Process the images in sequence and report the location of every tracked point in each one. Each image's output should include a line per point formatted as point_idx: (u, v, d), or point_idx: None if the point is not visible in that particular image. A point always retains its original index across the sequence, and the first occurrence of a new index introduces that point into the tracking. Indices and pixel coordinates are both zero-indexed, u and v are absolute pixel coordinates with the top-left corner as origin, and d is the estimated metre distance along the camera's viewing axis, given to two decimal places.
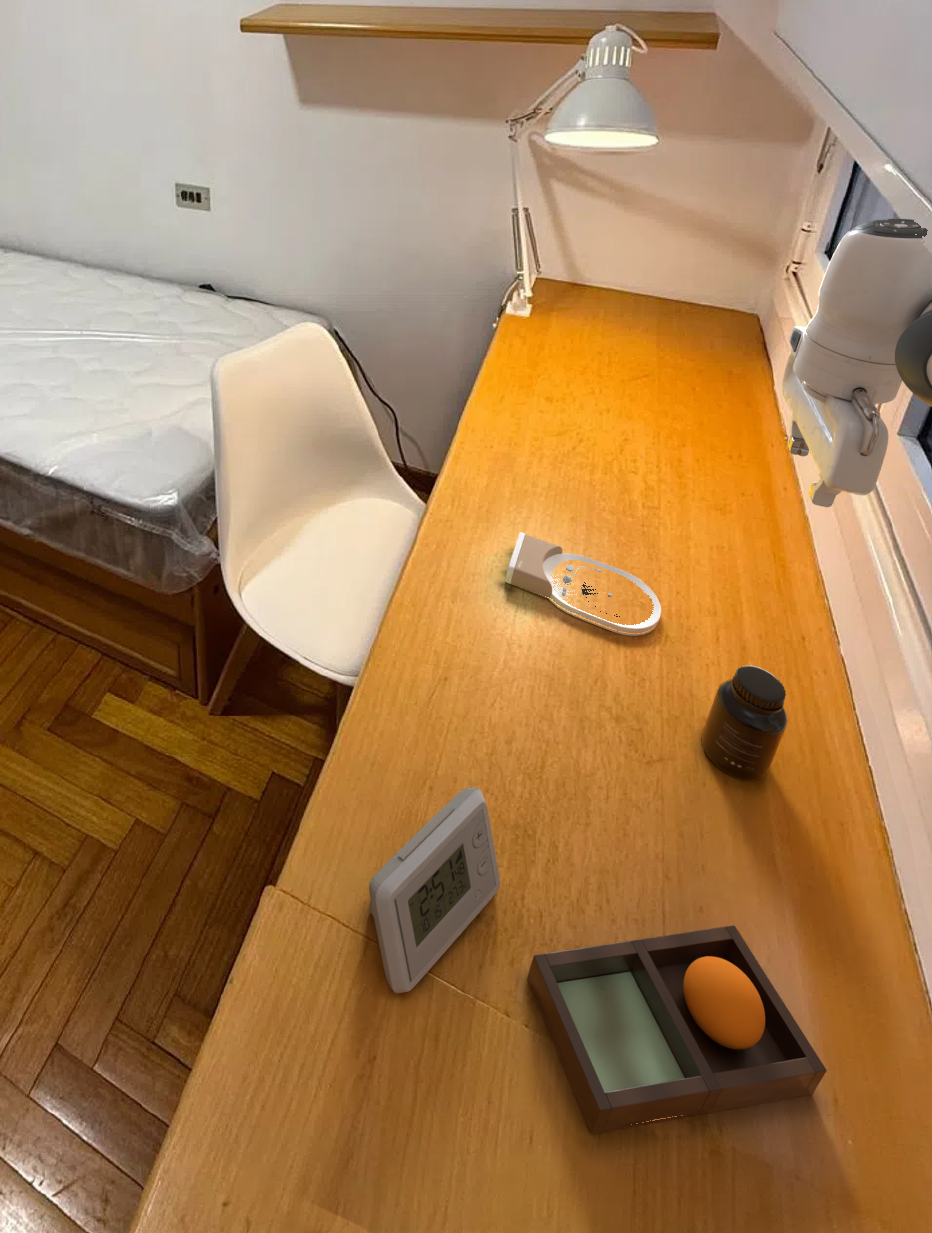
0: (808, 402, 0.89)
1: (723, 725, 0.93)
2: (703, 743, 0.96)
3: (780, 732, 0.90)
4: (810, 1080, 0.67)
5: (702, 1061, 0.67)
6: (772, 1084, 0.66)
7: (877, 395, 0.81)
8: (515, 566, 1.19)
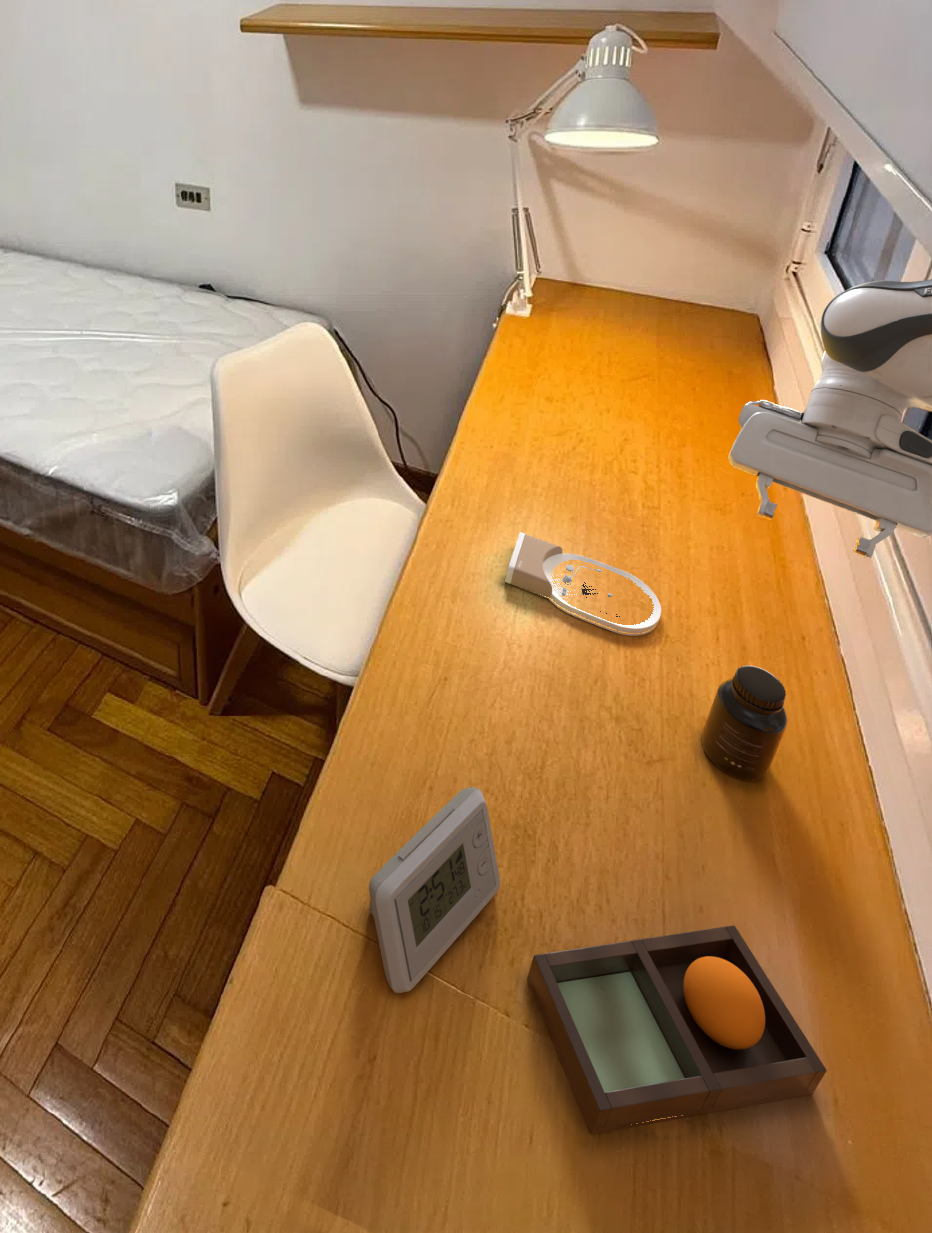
0: None
1: (723, 725, 0.93)
2: (703, 743, 0.96)
3: (780, 732, 0.90)
4: (810, 1080, 0.67)
5: (702, 1061, 0.67)
6: (772, 1084, 0.66)
7: (807, 415, 0.98)
8: (515, 566, 1.19)
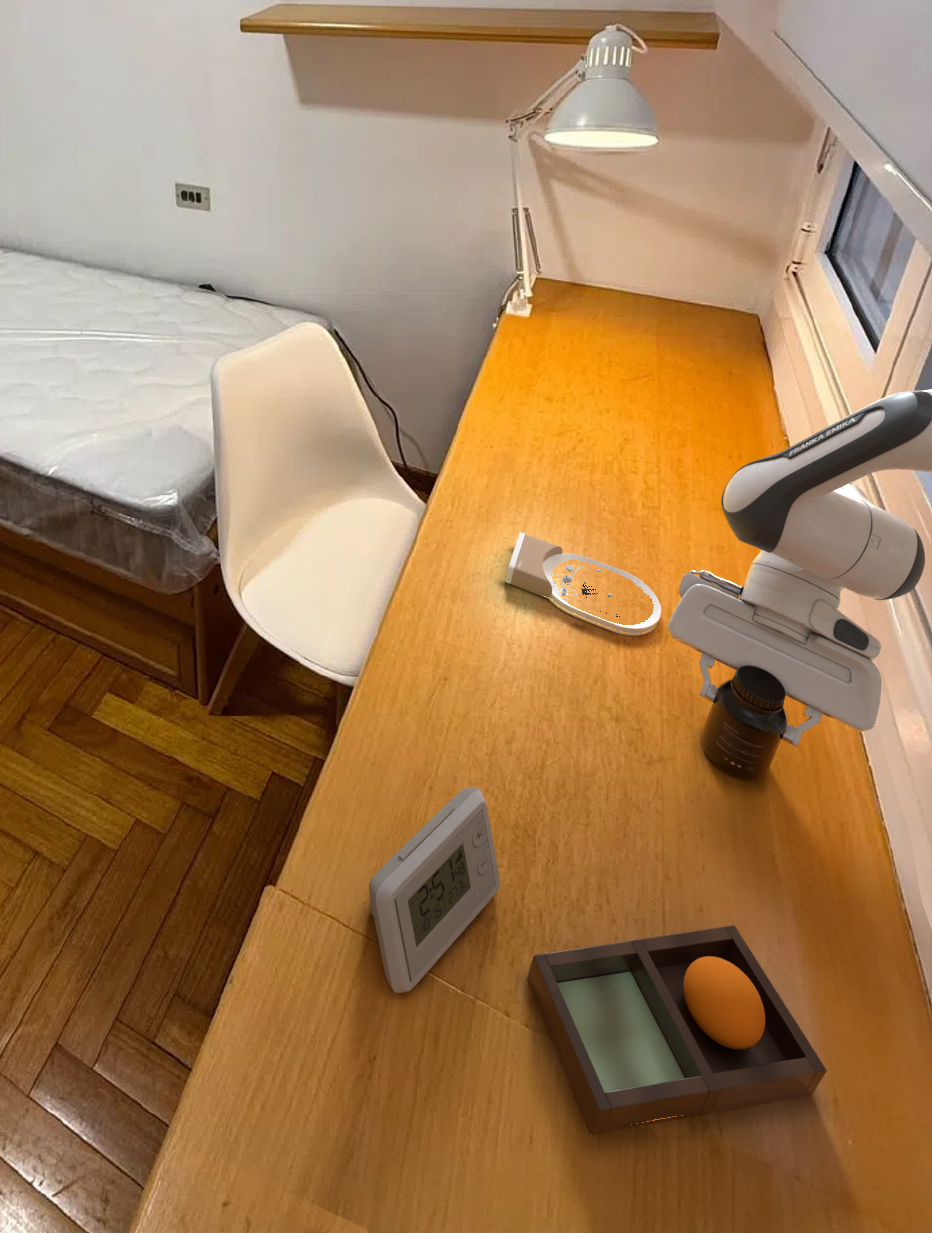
0: None
1: (723, 726, 0.93)
2: (703, 743, 0.96)
3: (780, 732, 0.90)
4: (810, 1080, 0.67)
5: (702, 1061, 0.67)
6: (772, 1084, 0.66)
7: (745, 591, 0.97)
8: (515, 566, 1.19)
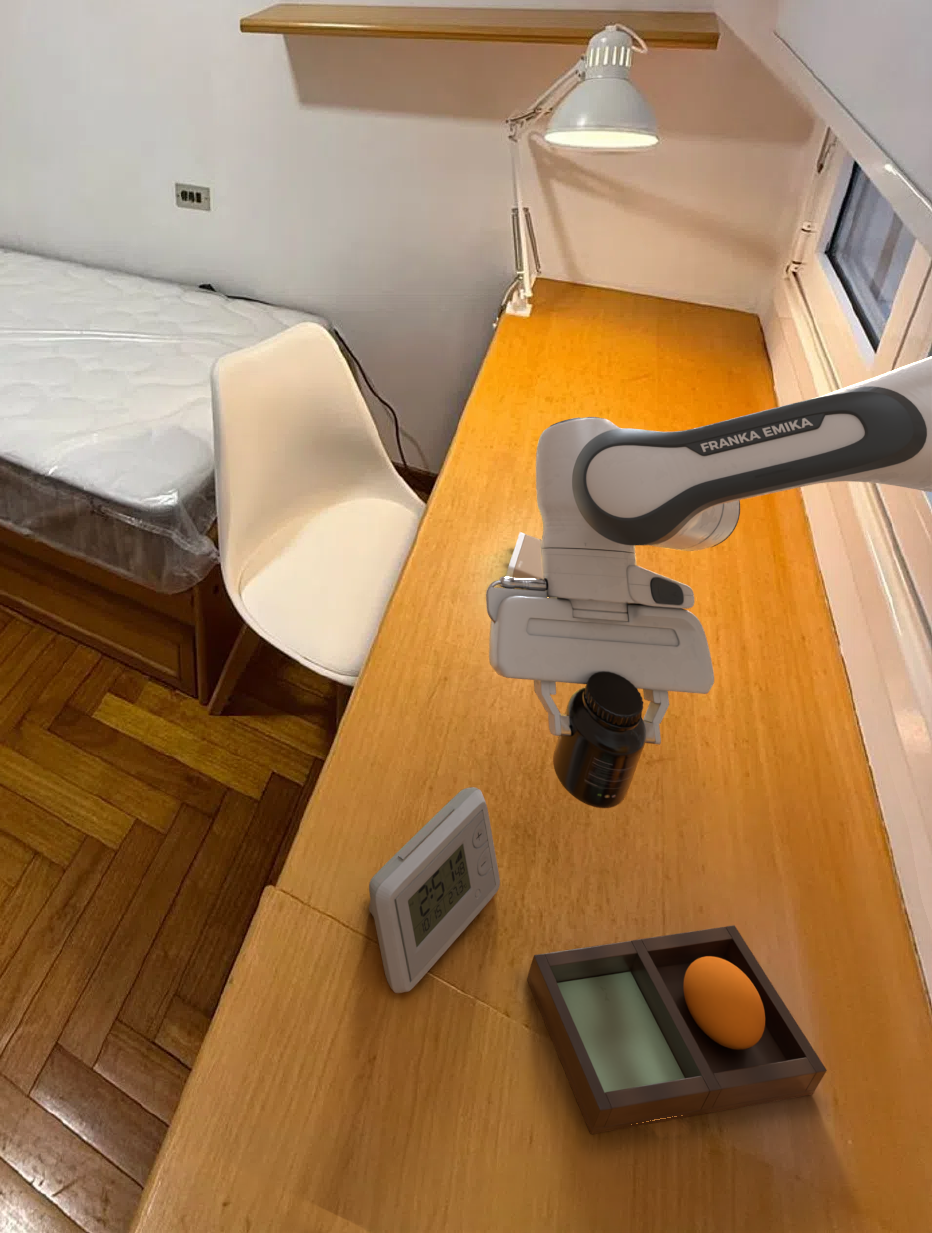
0: None
1: (592, 762, 0.75)
2: (564, 783, 0.79)
3: (645, 739, 0.75)
4: (810, 1080, 0.67)
5: (702, 1061, 0.67)
6: (772, 1084, 0.66)
7: (554, 586, 0.81)
8: (515, 566, 1.19)
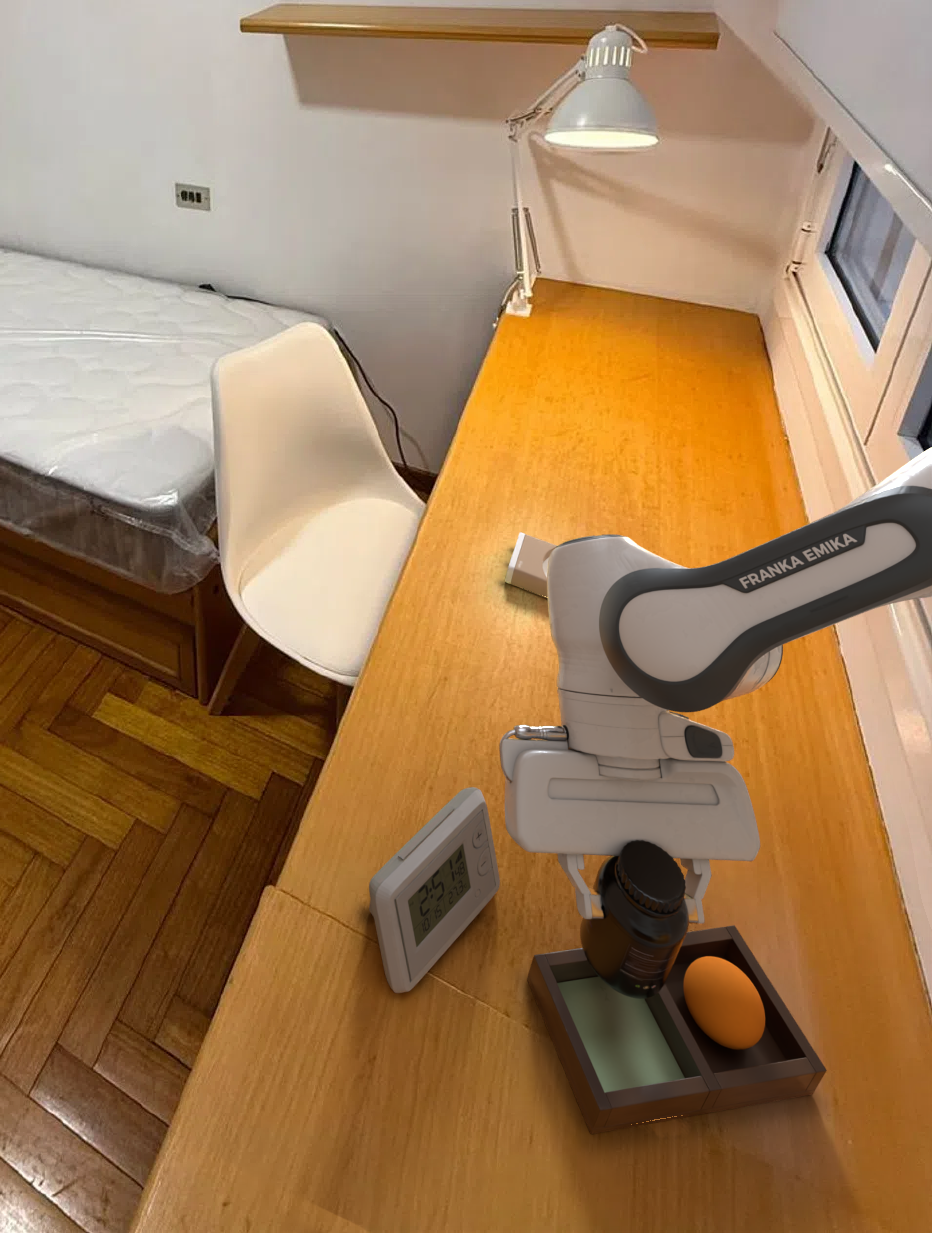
0: None
1: (629, 951, 0.65)
2: (595, 968, 0.69)
3: (688, 921, 0.66)
4: (810, 1080, 0.67)
5: (702, 1061, 0.67)
6: (772, 1084, 0.66)
7: (576, 737, 0.71)
8: (515, 566, 1.19)
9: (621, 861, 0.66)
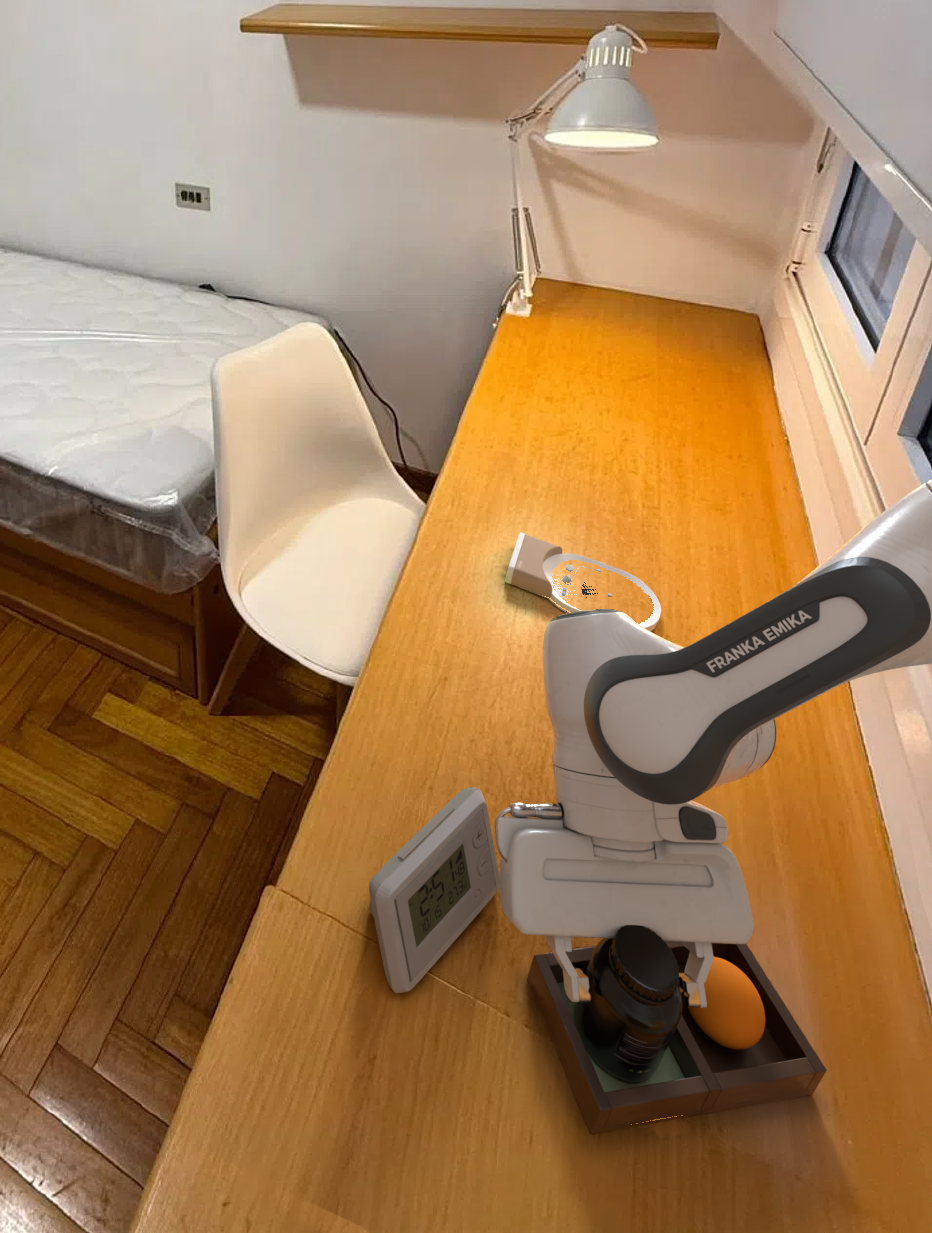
0: None
1: (623, 1037, 0.66)
2: (590, 1050, 0.69)
3: (681, 1007, 0.66)
4: (810, 1080, 0.67)
5: (702, 1061, 0.67)
6: (772, 1084, 0.66)
7: (571, 816, 0.71)
8: (515, 566, 1.19)
9: (615, 946, 0.67)
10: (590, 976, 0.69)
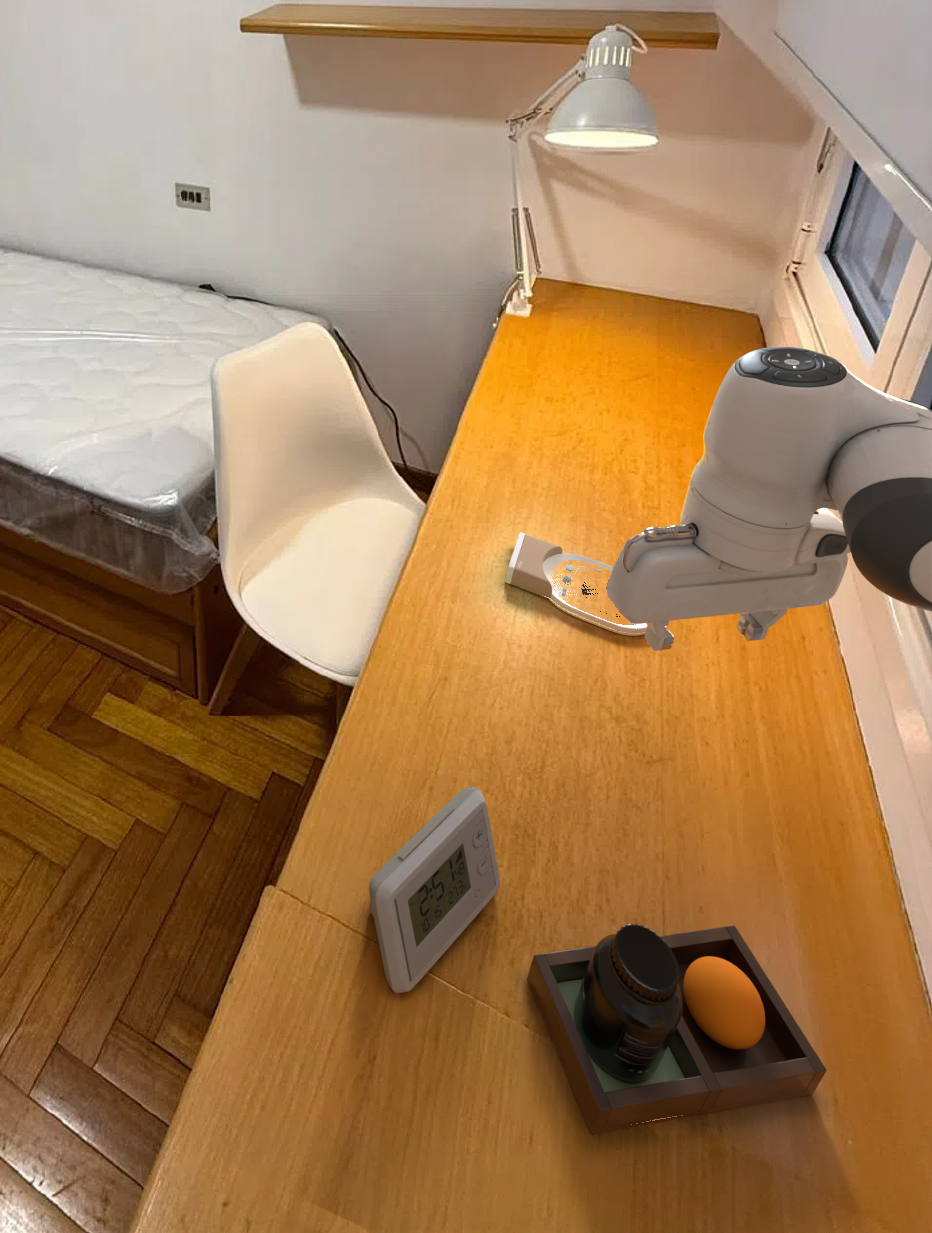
0: None
1: (623, 1037, 0.66)
2: (590, 1050, 0.69)
3: (681, 1007, 0.66)
4: (810, 1080, 0.67)
5: (702, 1061, 0.67)
6: (772, 1084, 0.66)
7: (709, 543, 0.69)
8: (515, 566, 1.19)
9: (615, 946, 0.67)
10: (590, 976, 0.69)
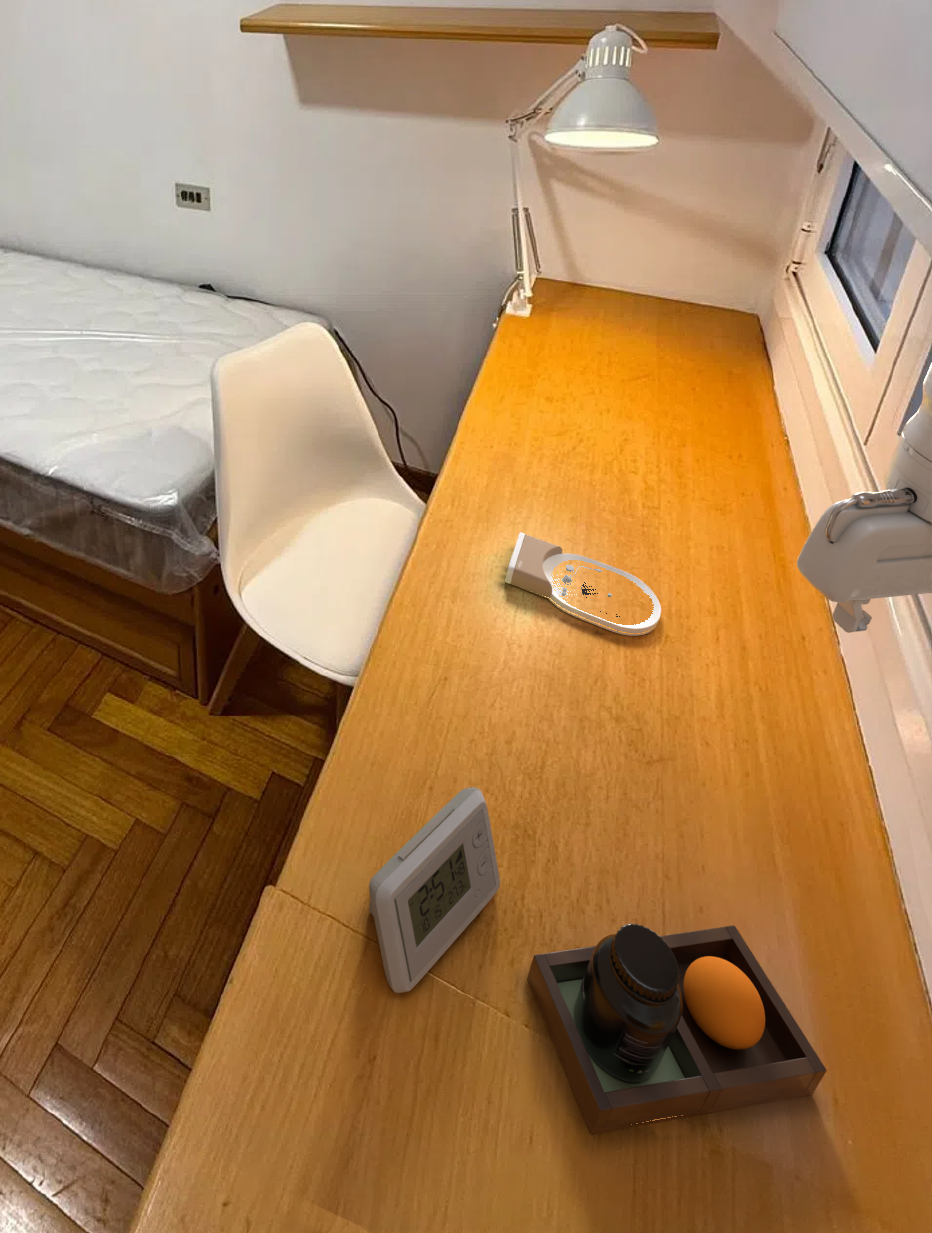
0: None
1: (623, 1037, 0.66)
2: (590, 1050, 0.69)
3: None
4: (810, 1080, 0.67)
5: (702, 1061, 0.67)
6: (772, 1084, 0.66)
7: (931, 510, 0.60)
8: (515, 566, 1.19)
9: (615, 946, 0.67)
10: (590, 976, 0.69)
